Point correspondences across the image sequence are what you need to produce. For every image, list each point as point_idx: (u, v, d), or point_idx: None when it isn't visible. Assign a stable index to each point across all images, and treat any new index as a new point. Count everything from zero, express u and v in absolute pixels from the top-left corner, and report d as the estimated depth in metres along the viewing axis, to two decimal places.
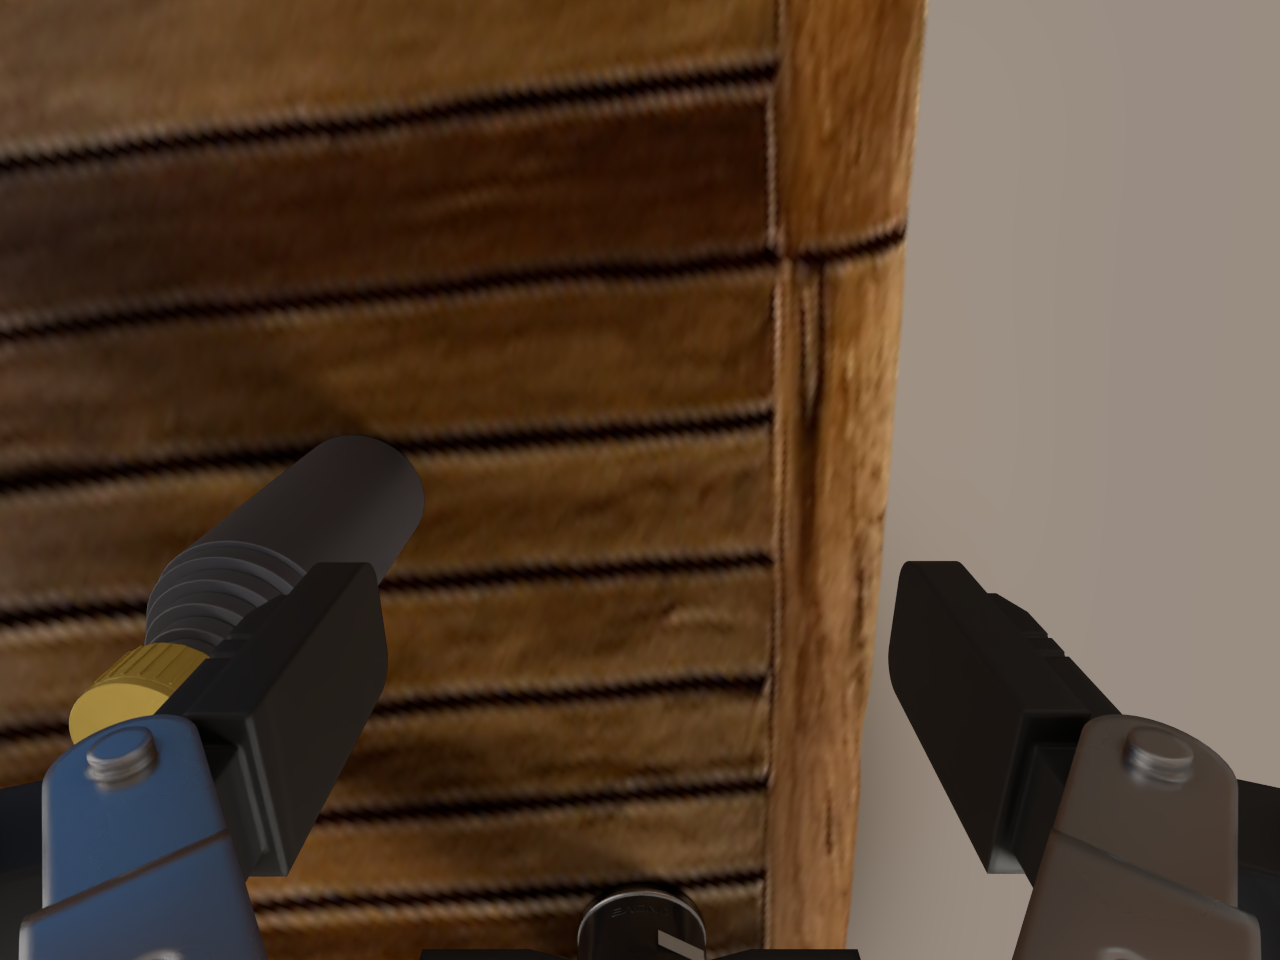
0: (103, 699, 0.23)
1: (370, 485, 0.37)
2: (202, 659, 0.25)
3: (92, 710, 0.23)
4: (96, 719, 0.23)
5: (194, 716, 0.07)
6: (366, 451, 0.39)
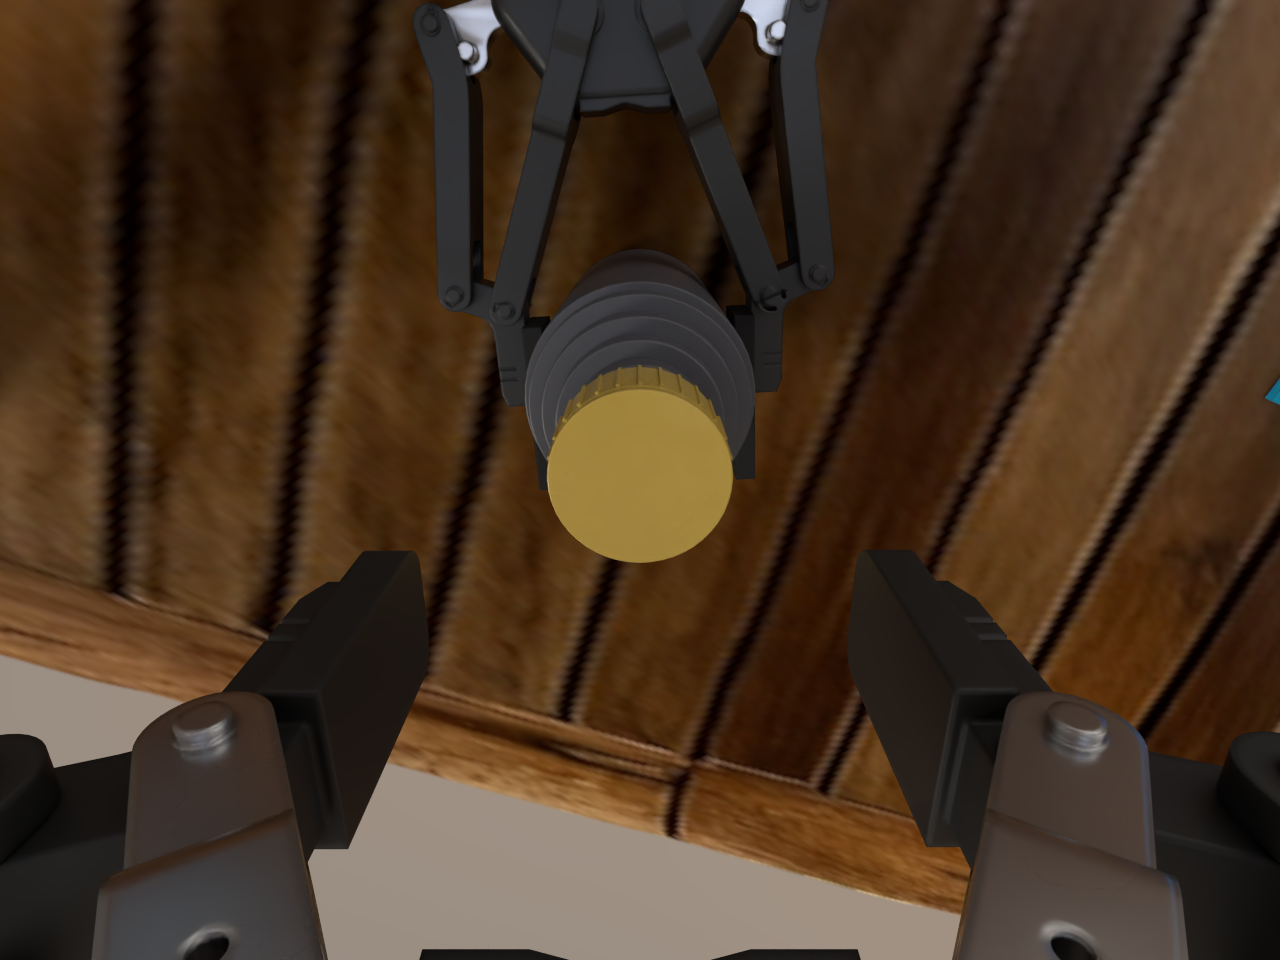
0: (712, 478, 0.17)
1: None
2: None
3: (703, 453, 0.16)
4: (688, 448, 0.16)
5: (266, 693, 0.08)
6: None
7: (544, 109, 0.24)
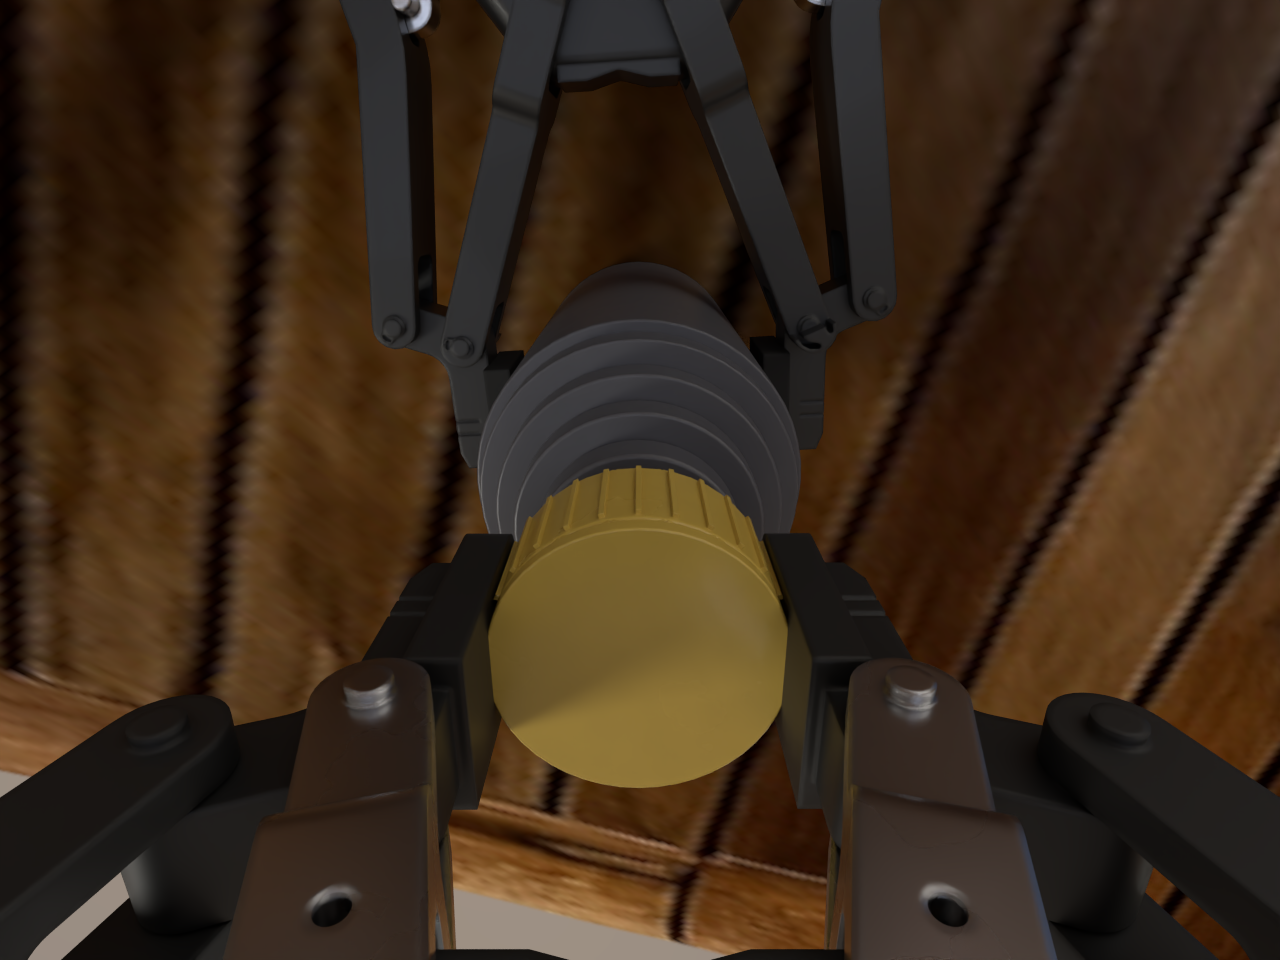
0: (759, 665, 0.10)
1: None
2: None
3: (746, 628, 0.10)
4: (721, 620, 0.10)
5: (414, 660, 0.08)
6: None
7: (508, 78, 0.18)
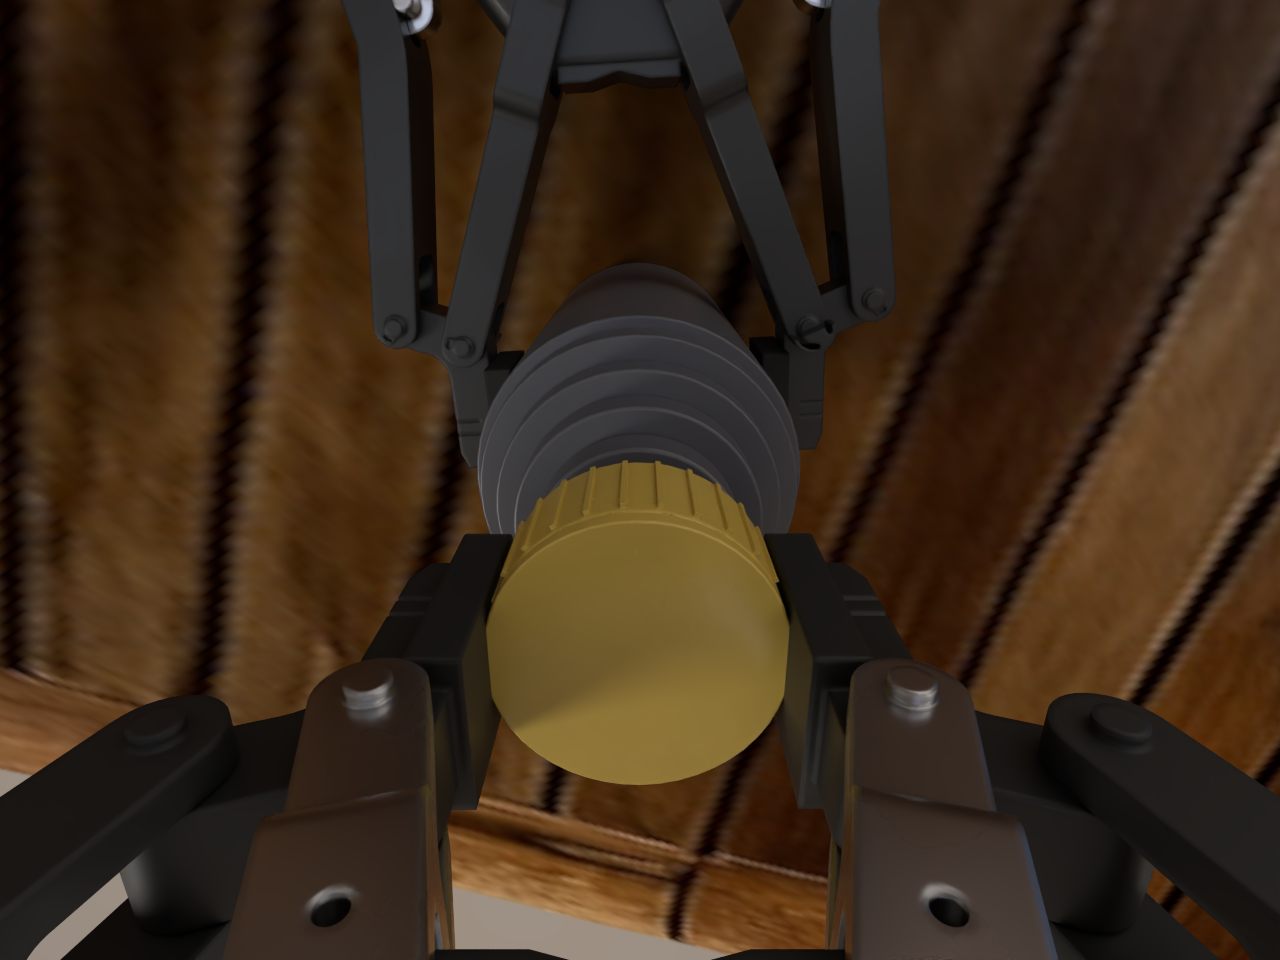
0: (615, 555, 0.09)
1: None
2: (748, 520, 0.11)
3: (572, 576, 0.09)
4: (569, 599, 0.10)
5: (413, 660, 0.08)
6: None
7: (509, 79, 0.18)
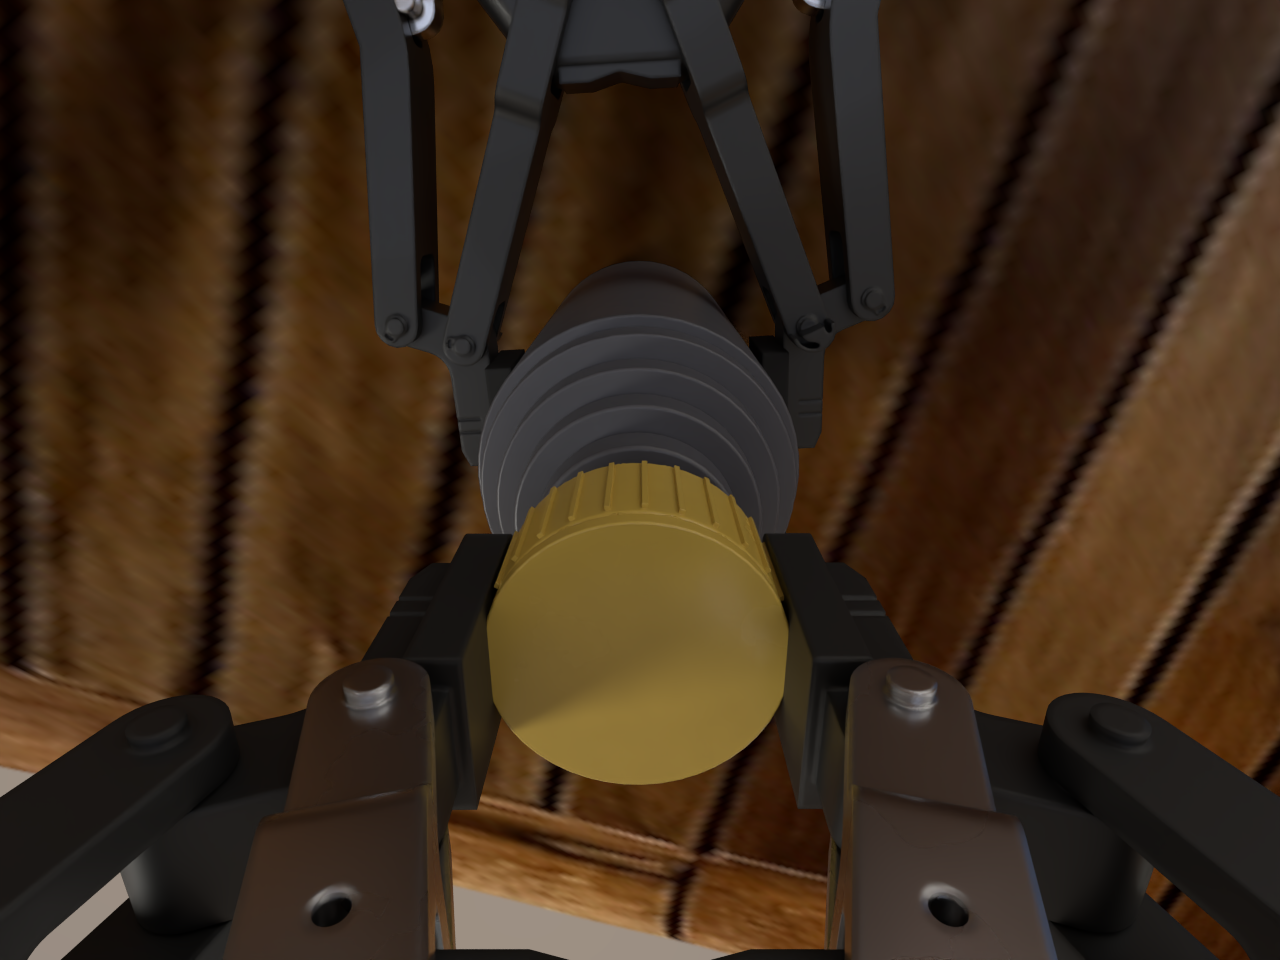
0: (523, 695, 0.10)
1: None
2: (541, 505, 0.11)
3: (552, 725, 0.10)
4: (578, 725, 0.10)
5: (413, 660, 0.08)
6: None
7: (510, 79, 0.18)
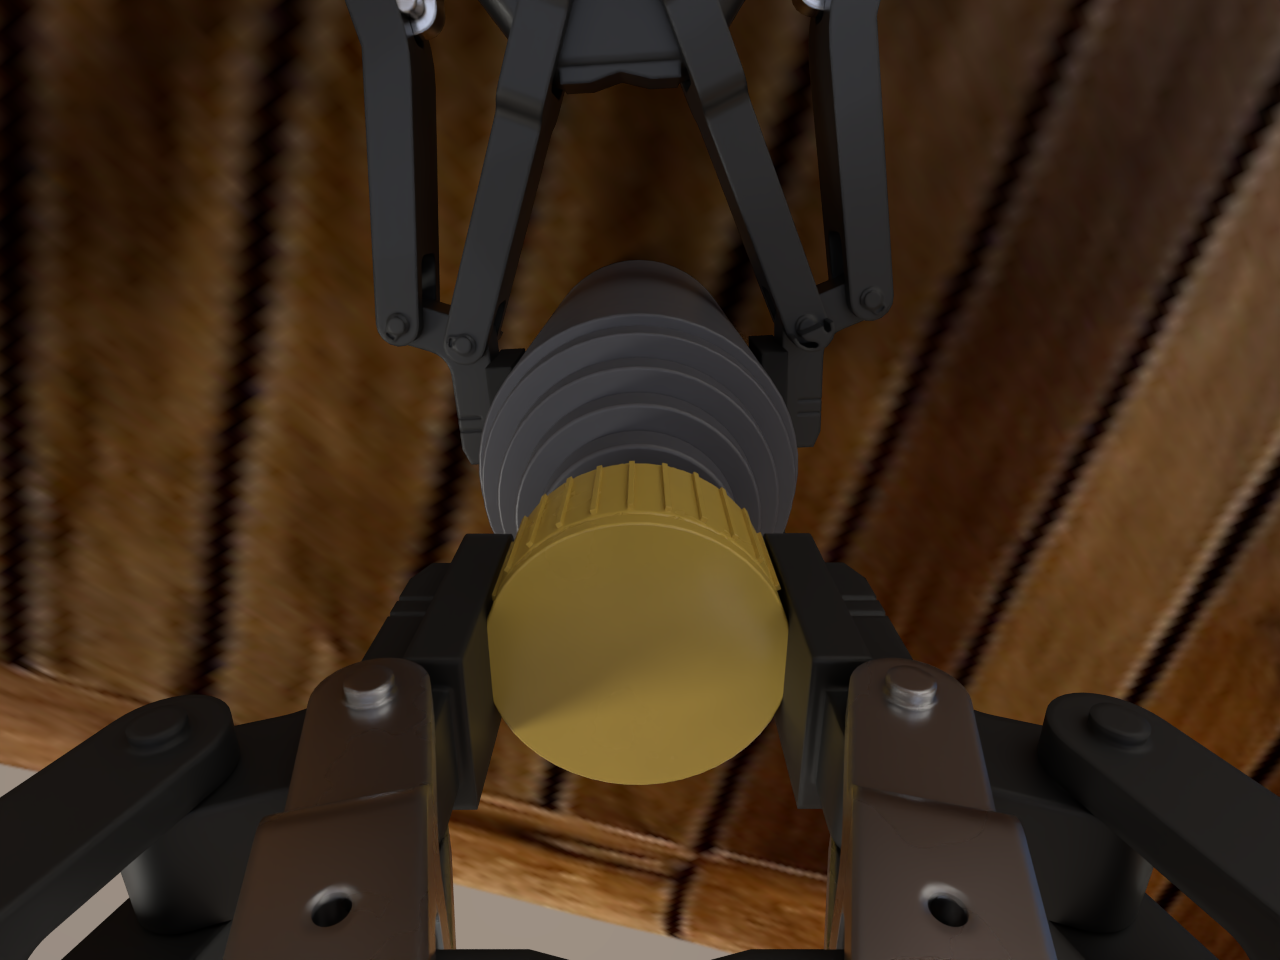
0: (690, 750, 0.10)
1: None
2: None
3: (721, 725, 0.10)
4: (719, 704, 0.10)
5: (414, 660, 0.08)
6: None
7: (511, 79, 0.18)
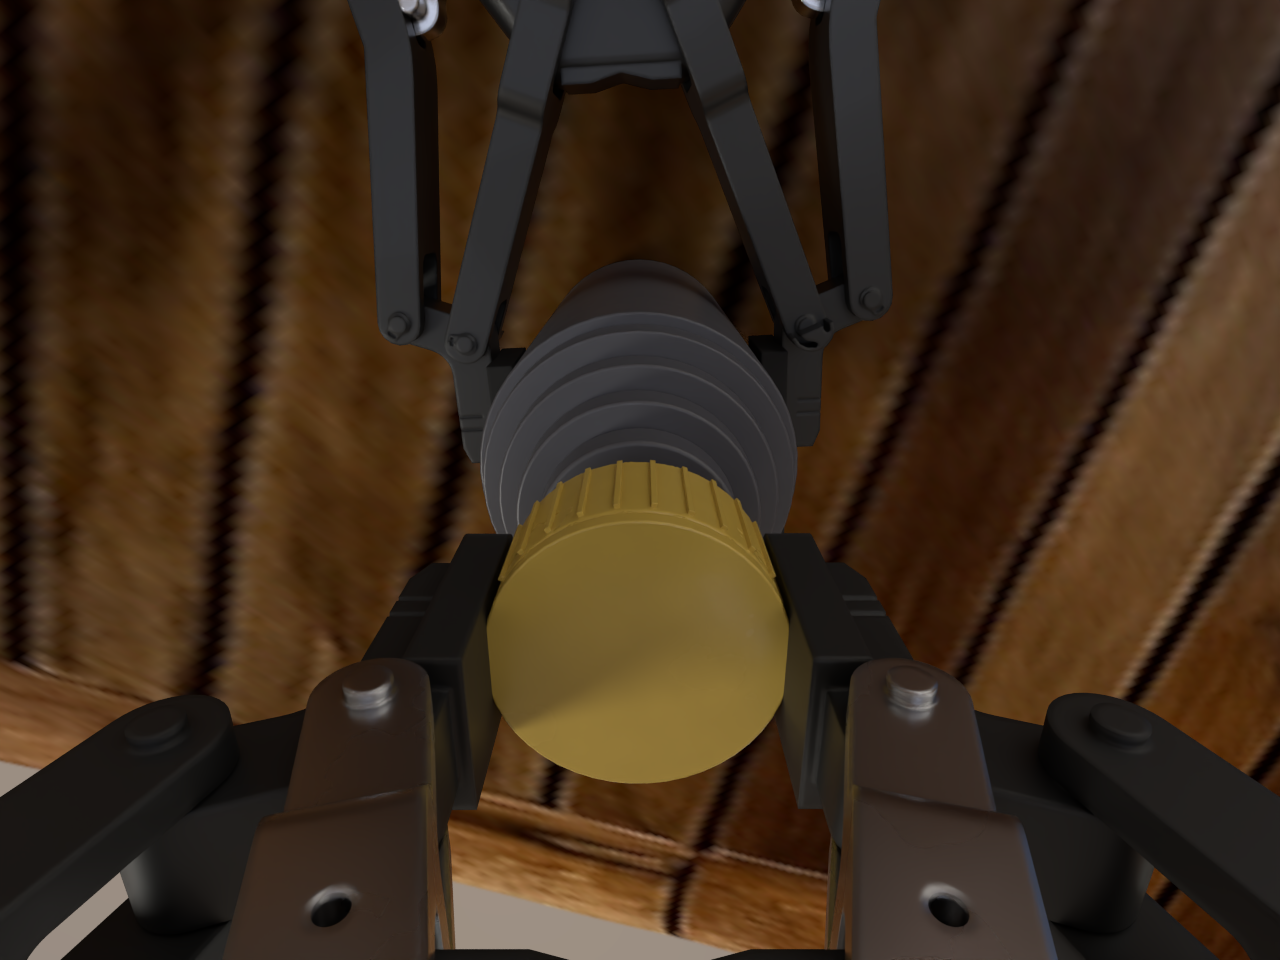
0: (740, 600, 0.10)
1: None
2: None
3: (702, 575, 0.09)
4: (675, 582, 0.09)
5: (413, 660, 0.08)
6: None
7: (513, 80, 0.18)
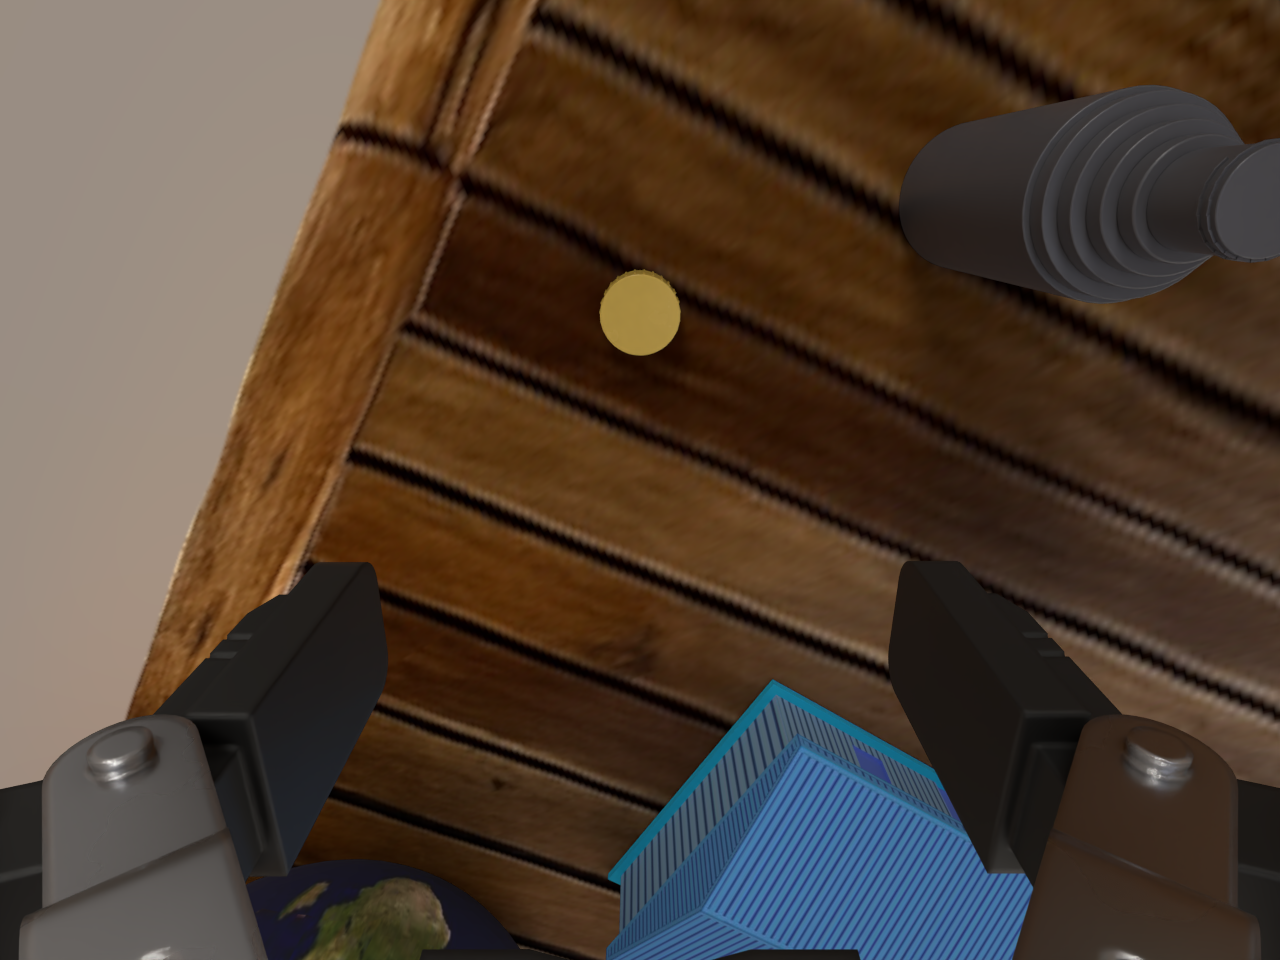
0: (665, 297, 0.38)
1: (934, 218, 0.34)
2: None
3: (656, 289, 0.38)
4: (649, 291, 0.38)
5: (194, 716, 0.07)
6: (920, 242, 0.37)
7: None
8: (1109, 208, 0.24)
